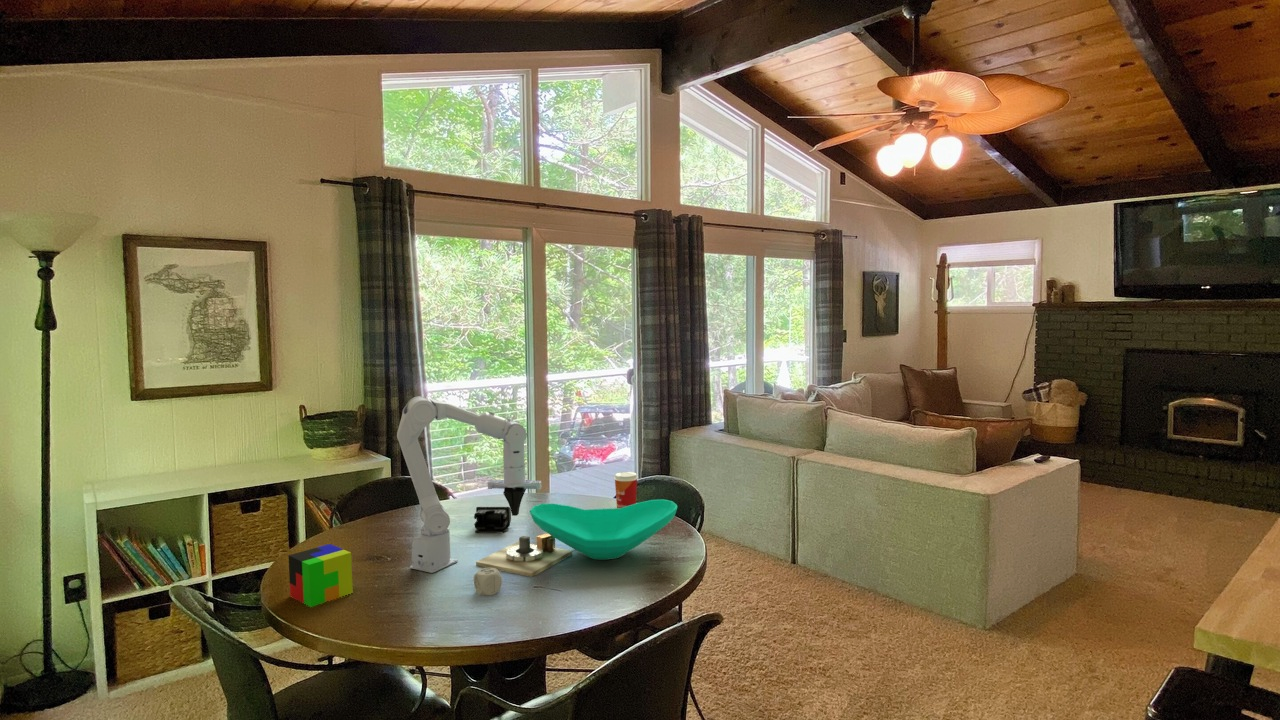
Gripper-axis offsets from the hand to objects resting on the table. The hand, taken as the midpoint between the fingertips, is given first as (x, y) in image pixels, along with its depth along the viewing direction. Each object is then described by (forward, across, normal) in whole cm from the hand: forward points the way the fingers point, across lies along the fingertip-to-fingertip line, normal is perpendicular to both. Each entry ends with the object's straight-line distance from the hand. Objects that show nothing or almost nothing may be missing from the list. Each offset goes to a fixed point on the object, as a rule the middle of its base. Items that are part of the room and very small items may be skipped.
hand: (515, 514), depth 194 cm
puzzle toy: (+11, -38, -32) cm, 51 cm away
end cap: (+11, -13, +19) cm, 25 cm away
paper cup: (+11, +27, +33) cm, 44 cm away
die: (+11, 0, -27) cm, 29 cm away
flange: (+9, +5, -4) cm, 11 cm away
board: (+10, +4, -6) cm, 13 cm away
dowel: (+10, +10, -2) cm, 15 cm away
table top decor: (+11, +25, -2) cm, 27 cm away
